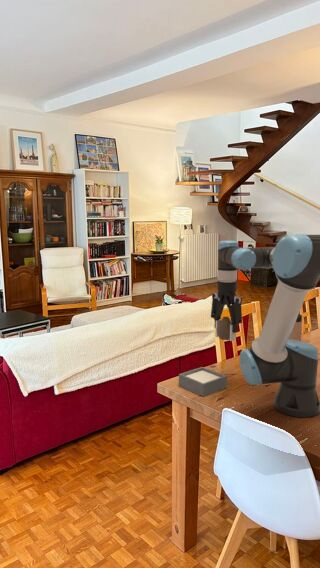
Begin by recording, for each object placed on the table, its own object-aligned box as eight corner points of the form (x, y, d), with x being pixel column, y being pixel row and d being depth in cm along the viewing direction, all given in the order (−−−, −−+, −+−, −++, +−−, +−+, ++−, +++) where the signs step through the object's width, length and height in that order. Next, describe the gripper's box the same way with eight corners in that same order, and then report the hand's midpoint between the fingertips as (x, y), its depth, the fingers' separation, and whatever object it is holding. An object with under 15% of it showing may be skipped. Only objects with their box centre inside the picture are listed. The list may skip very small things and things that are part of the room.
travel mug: (279, 355, 205) (281, 314, 202) (291, 353, 208) (294, 312, 205) (290, 360, 198) (292, 317, 195) (303, 358, 201) (306, 316, 198)
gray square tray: (226, 387, 166) (227, 376, 166) (203, 396, 158) (203, 384, 157) (202, 377, 176) (202, 366, 175) (178, 385, 168) (178, 374, 167)
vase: (213, 339, 170) (214, 318, 169) (220, 335, 176) (220, 314, 175) (230, 342, 167) (231, 320, 166) (236, 338, 173) (237, 316, 172)
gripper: (253, 282, 163) (251, 342, 167) (215, 277, 178) (213, 331, 182) (240, 284, 158) (238, 345, 162) (202, 278, 173) (200, 334, 177)
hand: (225, 338), depth 172 cm, fingers closed on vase, 7 cm apart
